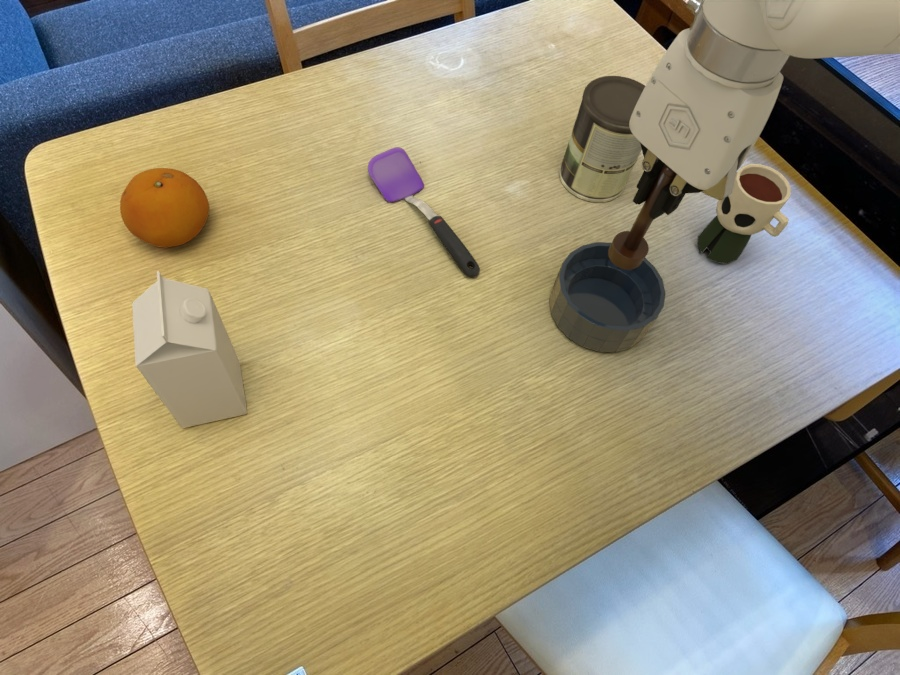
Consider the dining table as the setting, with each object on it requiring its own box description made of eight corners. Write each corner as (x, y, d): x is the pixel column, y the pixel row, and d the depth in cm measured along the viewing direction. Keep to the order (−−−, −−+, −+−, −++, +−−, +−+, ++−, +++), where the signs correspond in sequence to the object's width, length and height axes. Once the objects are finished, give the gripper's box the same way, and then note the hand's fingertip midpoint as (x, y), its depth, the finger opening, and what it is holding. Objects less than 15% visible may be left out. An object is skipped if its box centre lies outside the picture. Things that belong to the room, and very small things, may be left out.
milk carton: (182, 429, 69) (118, 344, 53) (177, 374, 73) (116, 277, 56) (247, 415, 71) (206, 327, 54) (240, 361, 74) (198, 263, 58)
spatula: (495, 269, 84) (497, 257, 82) (453, 290, 82) (455, 279, 80) (401, 156, 93) (401, 144, 91) (361, 173, 91) (360, 160, 89)
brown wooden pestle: (649, 259, 71) (703, 169, 59) (625, 275, 70) (675, 186, 58) (625, 236, 73) (672, 144, 61) (600, 251, 71) (644, 159, 59)
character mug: (672, 233, 90) (712, 166, 79) (705, 213, 93) (748, 146, 82) (729, 285, 86) (779, 223, 75) (761, 263, 89) (815, 200, 78)
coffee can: (544, 172, 94) (567, 93, 82) (590, 144, 98) (618, 65, 86) (593, 214, 91) (625, 138, 79) (639, 183, 95) (676, 107, 83)
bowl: (668, 322, 82) (687, 296, 77) (597, 372, 78) (612, 349, 72) (599, 255, 87) (612, 226, 82) (528, 298, 82) (537, 271, 77)
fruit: (231, 214, 85) (217, 171, 78) (182, 270, 80) (163, 229, 73) (166, 186, 87) (147, 142, 80) (115, 239, 81) (90, 196, 75)
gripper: (634, 2, 50) (574, 171, 65) (792, 119, 44) (684, 273, 60) (696, -24, 52) (624, 145, 68) (851, 83, 47) (733, 240, 63)
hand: (652, 204), depth 64 cm, fingers closed on brown wooden pestle, 1 cm apart
